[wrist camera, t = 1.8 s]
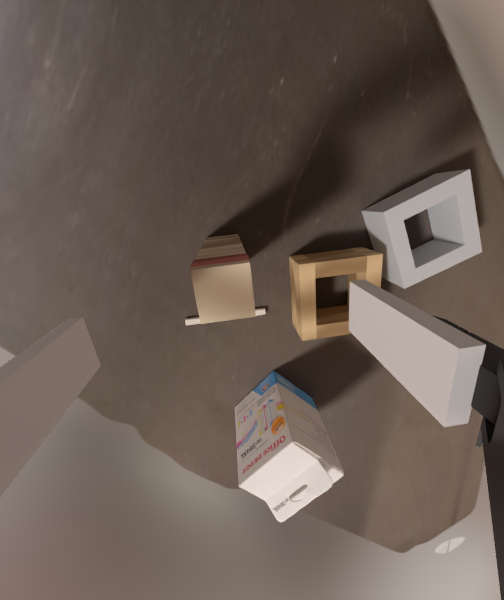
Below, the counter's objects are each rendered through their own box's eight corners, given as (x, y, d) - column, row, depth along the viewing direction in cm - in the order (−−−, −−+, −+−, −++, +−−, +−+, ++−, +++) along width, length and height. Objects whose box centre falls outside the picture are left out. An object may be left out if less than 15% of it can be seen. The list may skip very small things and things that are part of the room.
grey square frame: (361, 210, 30) (383, 212, 26) (435, 173, 30) (470, 168, 26) (382, 277, 34) (404, 288, 29) (449, 245, 33) (482, 251, 29)
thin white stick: (185, 318, 33) (184, 320, 32) (264, 307, 33) (265, 309, 33) (186, 323, 33) (186, 325, 33) (265, 312, 34) (265, 314, 33)
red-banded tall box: (205, 237, 30) (189, 269, 16) (238, 233, 30) (250, 261, 16) (211, 269, 31) (200, 324, 17) (242, 265, 31) (256, 316, 17)
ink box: (273, 368, 37) (299, 454, 24) (313, 398, 39) (354, 489, 27) (233, 407, 39) (237, 506, 26) (273, 433, 41) (295, 535, 29)
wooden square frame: (288, 256, 31) (298, 264, 27) (362, 246, 32) (383, 253, 28) (292, 324, 35) (302, 340, 30) (359, 314, 35) (377, 329, 31)
